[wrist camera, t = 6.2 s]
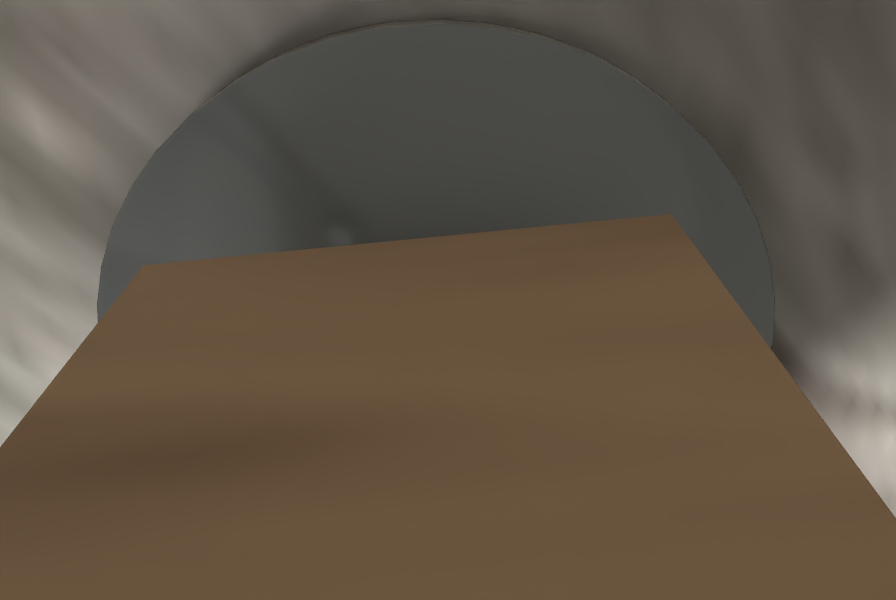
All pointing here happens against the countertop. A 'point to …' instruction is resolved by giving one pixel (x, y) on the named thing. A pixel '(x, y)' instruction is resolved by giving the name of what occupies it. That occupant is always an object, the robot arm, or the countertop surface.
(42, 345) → the countertop surface
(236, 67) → the countertop surface
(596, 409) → the walnut block
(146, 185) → the slate coaster
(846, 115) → the countertop surface
